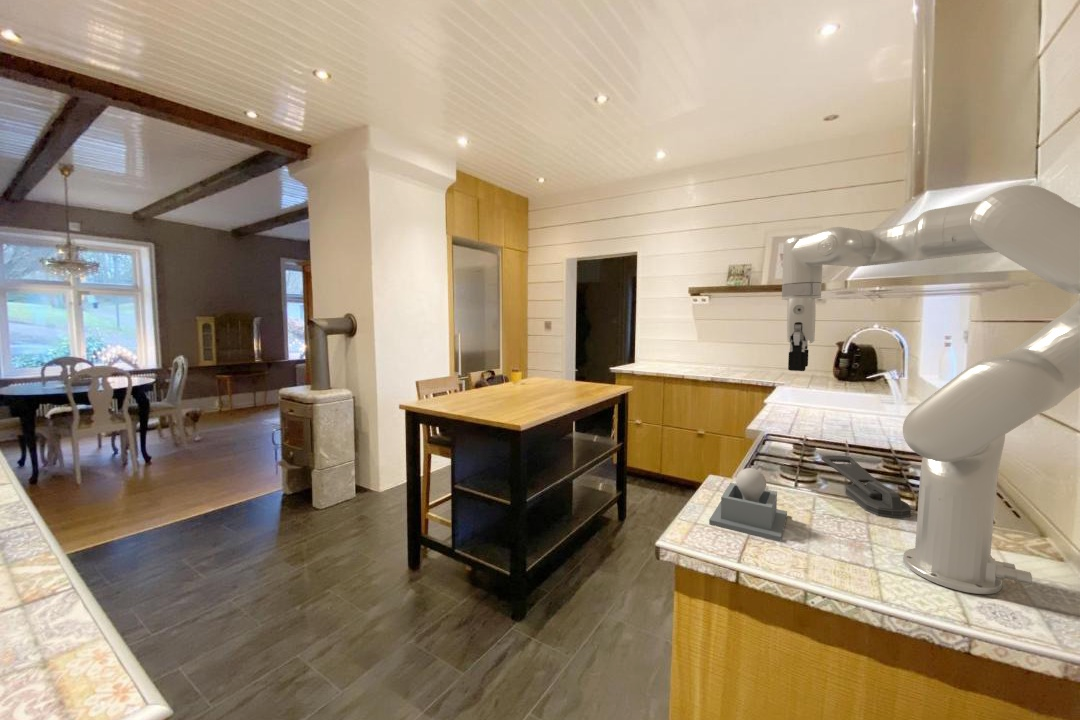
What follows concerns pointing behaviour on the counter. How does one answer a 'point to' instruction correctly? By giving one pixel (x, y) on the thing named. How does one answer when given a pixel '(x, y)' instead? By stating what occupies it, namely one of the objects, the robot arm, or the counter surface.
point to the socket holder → (750, 514)
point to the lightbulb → (751, 484)
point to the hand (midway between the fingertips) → (798, 368)
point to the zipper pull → (869, 490)
